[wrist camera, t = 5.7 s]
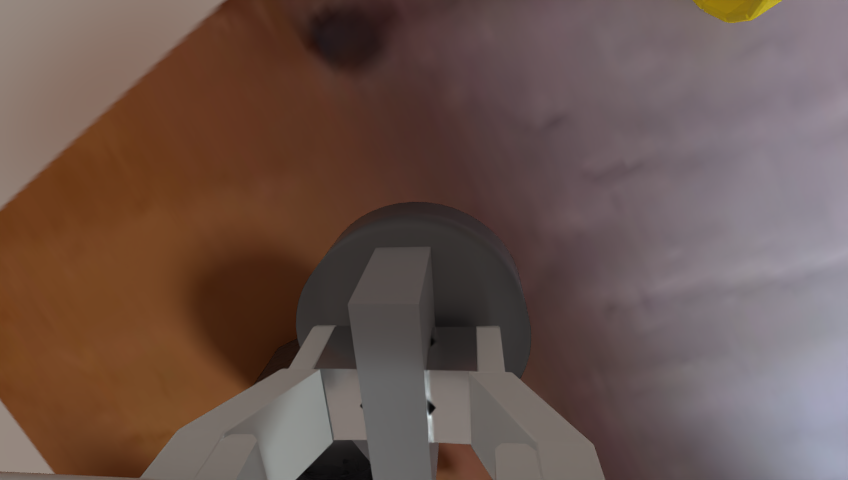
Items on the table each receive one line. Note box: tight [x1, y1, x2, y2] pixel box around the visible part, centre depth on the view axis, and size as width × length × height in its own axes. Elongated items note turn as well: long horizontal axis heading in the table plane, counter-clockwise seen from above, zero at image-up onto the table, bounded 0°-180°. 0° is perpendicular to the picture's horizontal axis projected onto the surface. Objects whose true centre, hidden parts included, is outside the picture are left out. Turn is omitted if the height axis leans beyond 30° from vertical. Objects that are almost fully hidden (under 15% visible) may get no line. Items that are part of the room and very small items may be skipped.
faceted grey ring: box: [254, 339, 373, 480], centre depth 25 cm, size 9×9×6 cm
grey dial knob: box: [296, 202, 531, 480], centre depth 10 cm, size 6×6×4 cm
